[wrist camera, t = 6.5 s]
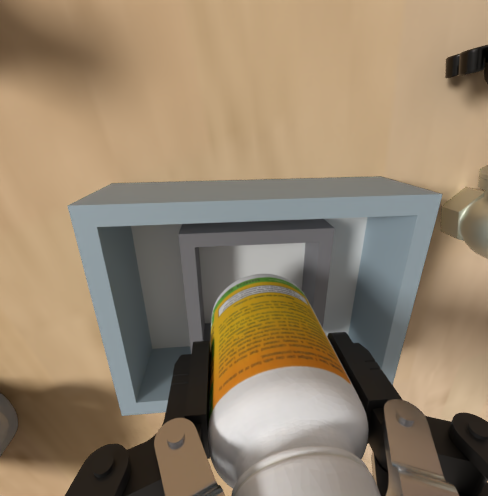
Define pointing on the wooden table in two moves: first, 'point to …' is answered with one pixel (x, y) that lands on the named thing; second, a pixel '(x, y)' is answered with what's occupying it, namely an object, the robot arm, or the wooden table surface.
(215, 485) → the robot arm
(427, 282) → the wooden table surface
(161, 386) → the walled box
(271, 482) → the supplement bottle
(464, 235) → the valve
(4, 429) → the coffee mug
